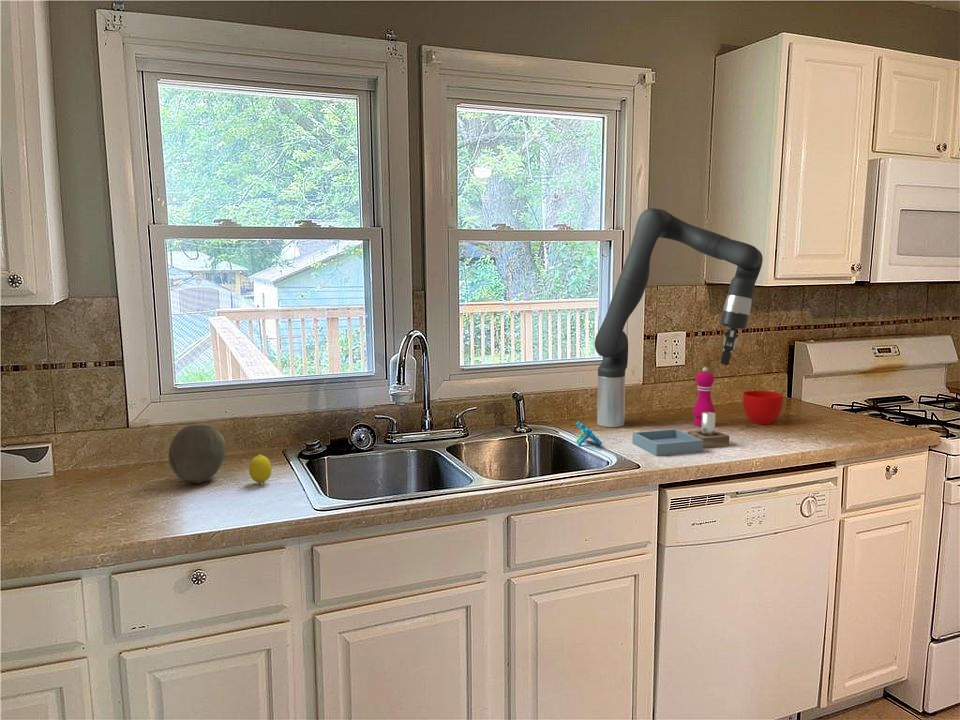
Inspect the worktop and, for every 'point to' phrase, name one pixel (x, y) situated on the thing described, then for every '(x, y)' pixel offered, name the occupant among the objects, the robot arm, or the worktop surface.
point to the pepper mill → (703, 395)
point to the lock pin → (708, 424)
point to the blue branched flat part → (586, 435)
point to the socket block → (711, 439)
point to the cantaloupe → (197, 453)
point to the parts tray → (667, 442)
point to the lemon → (260, 469)
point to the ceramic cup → (762, 406)
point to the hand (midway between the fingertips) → (724, 364)
